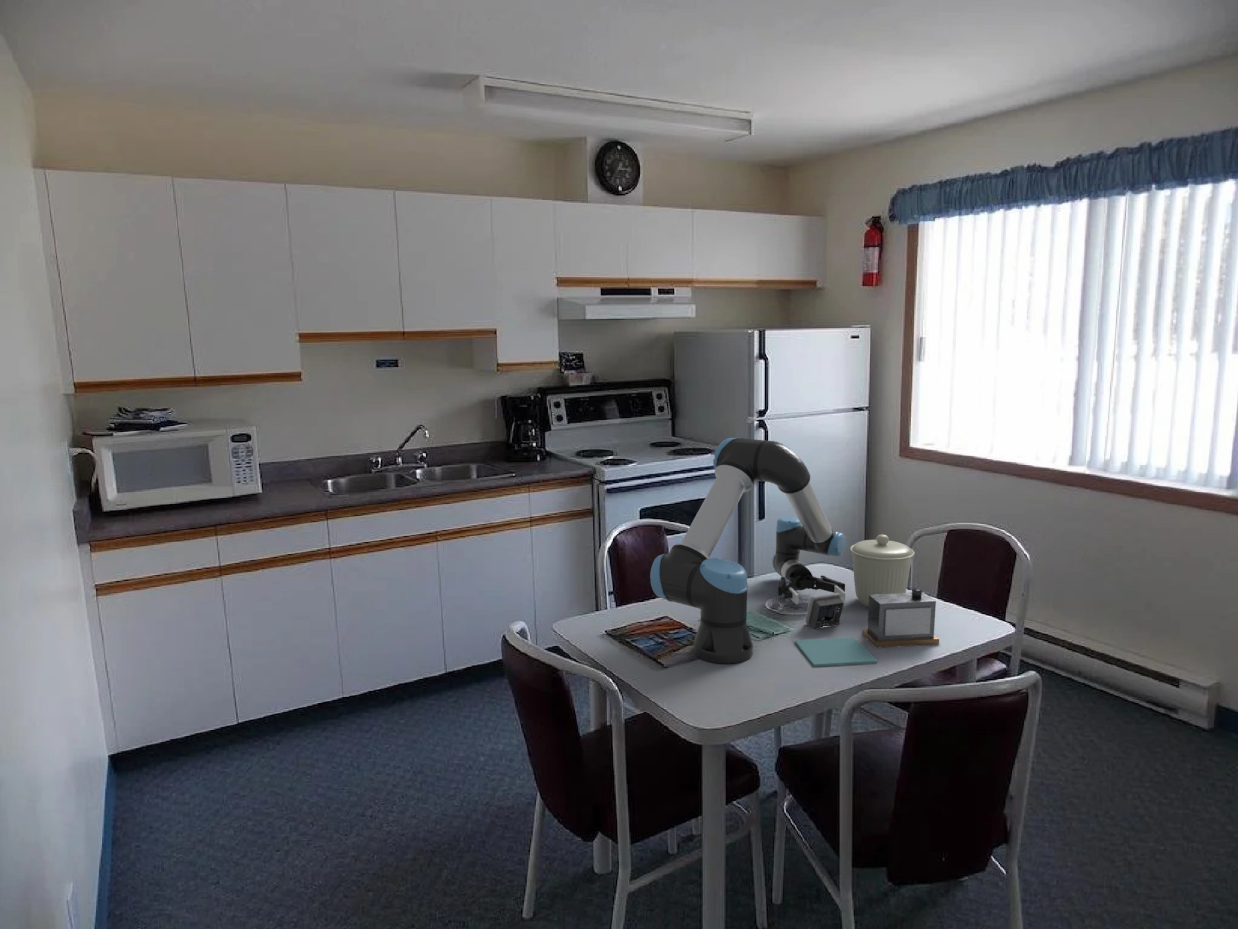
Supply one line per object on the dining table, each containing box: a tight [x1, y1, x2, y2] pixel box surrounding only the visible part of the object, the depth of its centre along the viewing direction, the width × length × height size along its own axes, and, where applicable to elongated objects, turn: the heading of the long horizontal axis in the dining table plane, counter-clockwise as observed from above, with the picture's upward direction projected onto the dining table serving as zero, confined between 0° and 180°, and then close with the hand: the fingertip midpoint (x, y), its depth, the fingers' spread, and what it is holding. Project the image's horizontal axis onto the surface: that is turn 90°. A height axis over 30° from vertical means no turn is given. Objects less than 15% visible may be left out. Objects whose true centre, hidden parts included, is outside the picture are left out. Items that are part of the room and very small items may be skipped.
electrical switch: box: [804, 592, 845, 630], centre depth 221 cm, size 9×5×9 cm, turn 109°
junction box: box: [861, 587, 940, 649], centre depth 210 cm, size 17×9×14 cm, turn 95°
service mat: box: [794, 636, 878, 668], centre depth 204 cm, size 16×15×1 cm
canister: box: [849, 533, 915, 607], centre depth 237 cm, size 18×18×21 cm
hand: (820, 598), depth 226 cm, fingers open, 13 cm apart
